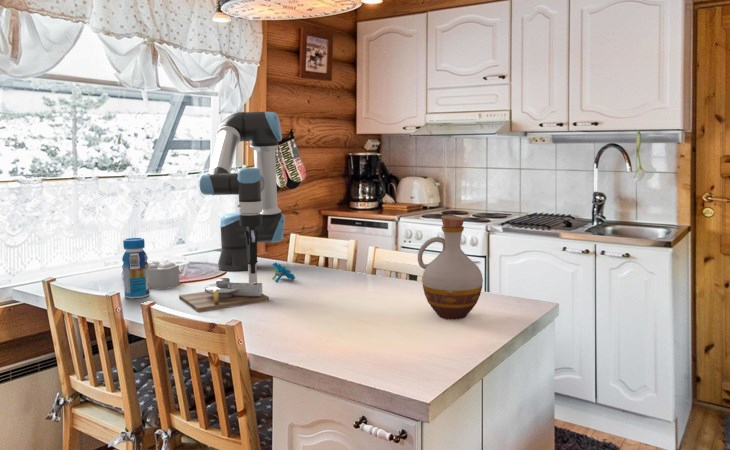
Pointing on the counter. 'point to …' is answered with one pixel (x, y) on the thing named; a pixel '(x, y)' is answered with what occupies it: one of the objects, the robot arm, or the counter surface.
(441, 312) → the jug
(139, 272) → the beverage bottle
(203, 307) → the base board
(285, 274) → the blue t-shaped piece
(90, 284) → the counter surface
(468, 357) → the counter surface
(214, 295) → the dowel pin
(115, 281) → the counter surface
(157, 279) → the lumpy-topped squat cylinder
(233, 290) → the grey bracket
